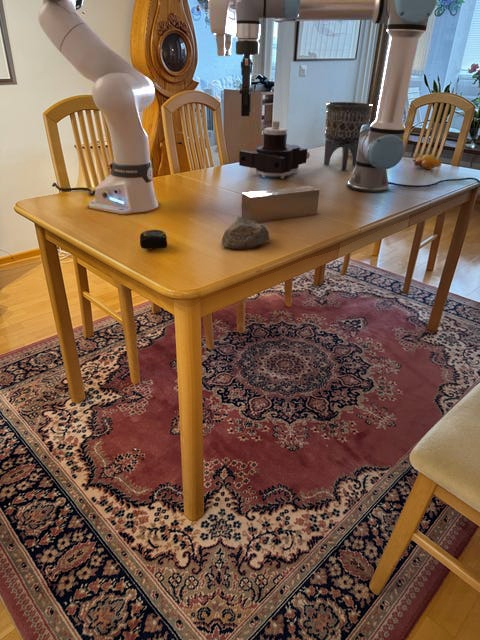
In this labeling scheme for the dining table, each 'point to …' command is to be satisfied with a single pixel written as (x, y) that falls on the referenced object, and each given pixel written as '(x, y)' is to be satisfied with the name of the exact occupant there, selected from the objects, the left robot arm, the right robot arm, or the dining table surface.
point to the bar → (280, 203)
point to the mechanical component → (274, 154)
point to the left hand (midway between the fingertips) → (224, 56)
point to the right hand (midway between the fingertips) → (245, 113)
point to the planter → (344, 129)
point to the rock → (245, 234)
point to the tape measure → (153, 239)
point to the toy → (427, 161)
